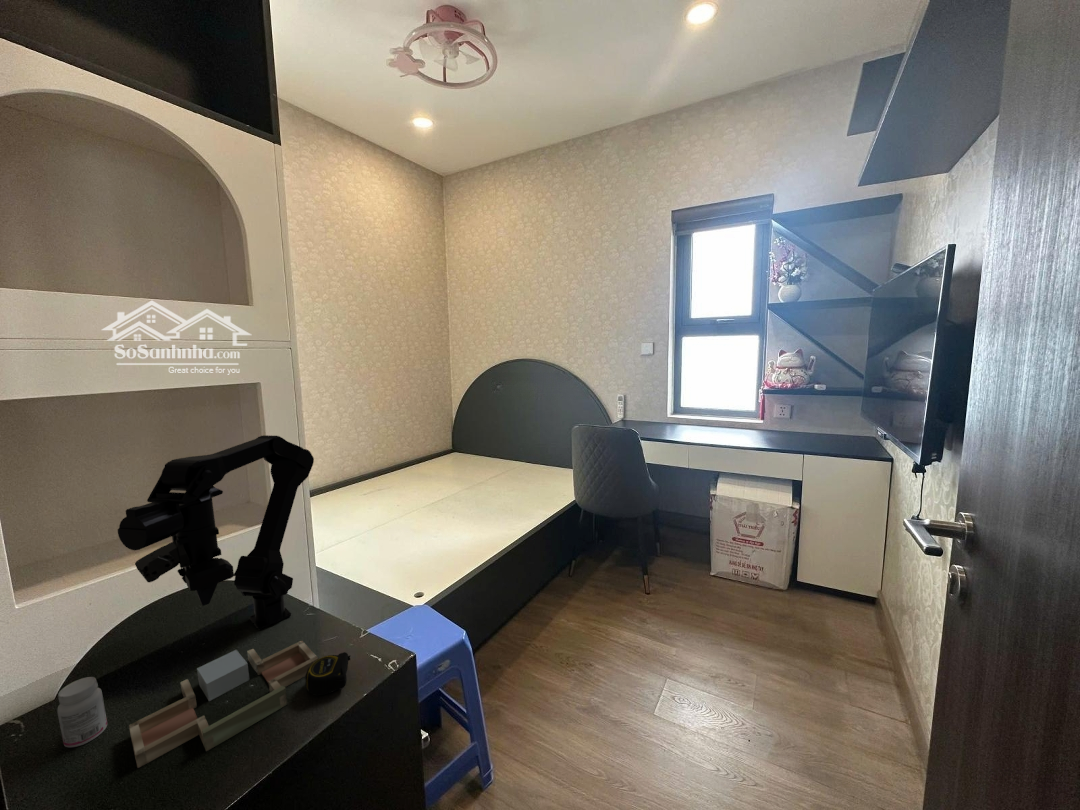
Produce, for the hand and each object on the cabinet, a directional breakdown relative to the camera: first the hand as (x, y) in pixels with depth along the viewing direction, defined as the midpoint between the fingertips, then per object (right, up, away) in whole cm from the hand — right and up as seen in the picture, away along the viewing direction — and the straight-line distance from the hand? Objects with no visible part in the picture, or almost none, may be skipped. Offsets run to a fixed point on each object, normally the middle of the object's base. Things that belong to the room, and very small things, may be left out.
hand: (205, 604), depth 80 cm
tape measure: (+26, -12, -4) cm, 29 cm away
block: (+6, -13, -4) cm, 15 cm away
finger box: (+11, -13, -8) cm, 18 cm away
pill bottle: (-8, -14, -14) cm, 21 cm away
